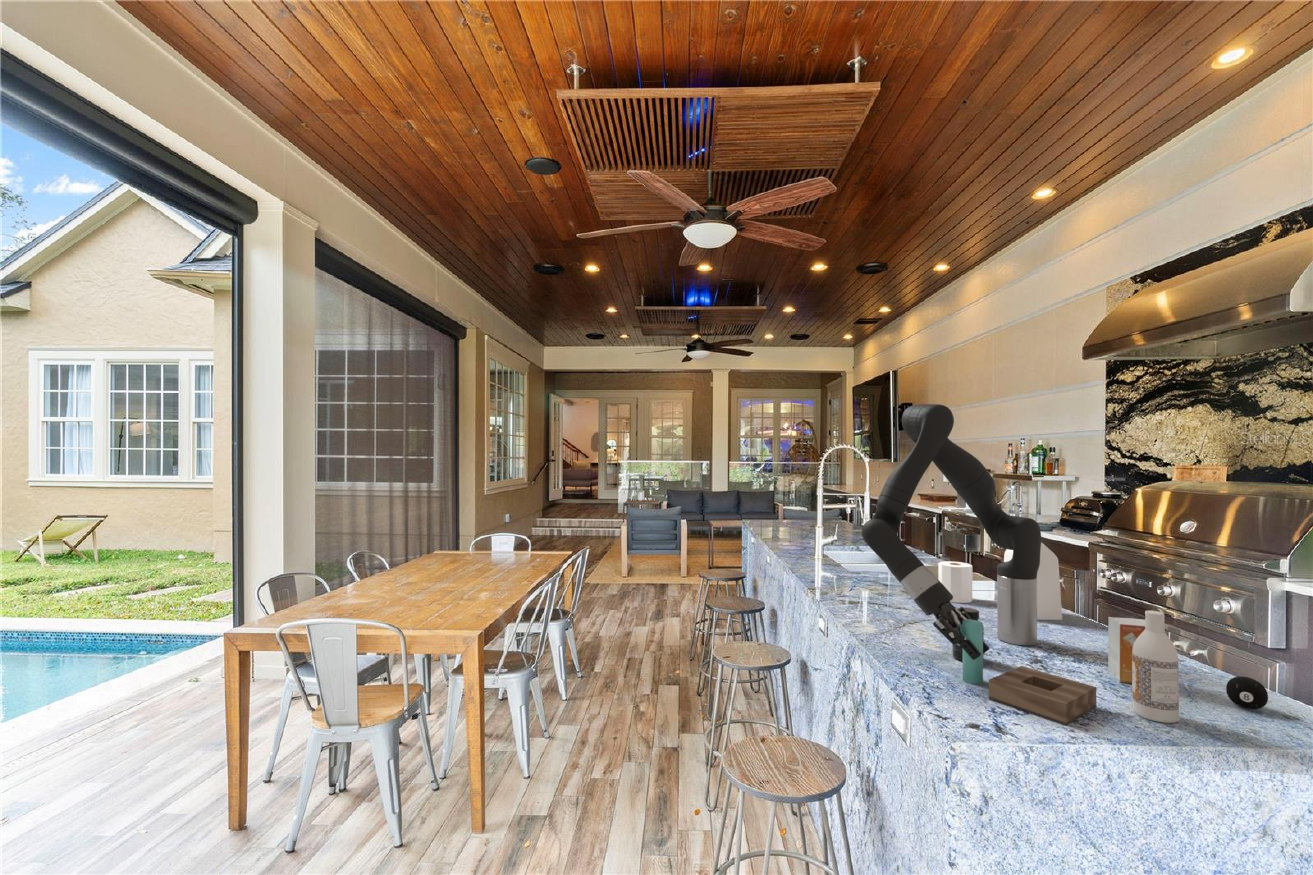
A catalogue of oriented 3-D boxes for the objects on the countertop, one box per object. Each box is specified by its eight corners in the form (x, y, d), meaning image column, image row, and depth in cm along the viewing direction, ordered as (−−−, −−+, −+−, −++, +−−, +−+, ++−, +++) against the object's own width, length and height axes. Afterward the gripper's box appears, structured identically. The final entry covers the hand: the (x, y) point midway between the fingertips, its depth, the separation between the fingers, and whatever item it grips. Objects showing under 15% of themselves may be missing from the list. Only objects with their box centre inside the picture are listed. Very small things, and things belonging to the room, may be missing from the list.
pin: (968, 676, 136) (968, 618, 136) (986, 681, 133) (986, 622, 133) (959, 680, 134) (958, 621, 134) (977, 685, 130) (976, 625, 131)
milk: (1062, 619, 181) (1061, 533, 181) (1023, 619, 181) (1023, 533, 182) (1037, 609, 193) (1037, 528, 193) (1001, 608, 193) (1001, 527, 194)
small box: (1119, 682, 132) (1119, 623, 133) (1107, 672, 138) (1107, 615, 139) (1164, 687, 130) (1163, 627, 130) (1149, 676, 136) (1149, 619, 136)
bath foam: (1133, 705, 121) (1132, 605, 121) (1178, 715, 116) (1177, 611, 117) (1131, 716, 116) (1131, 612, 116) (1179, 727, 111) (1178, 619, 111)
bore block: (1021, 684, 131) (1021, 665, 131) (1096, 707, 120) (1096, 687, 120) (989, 699, 123) (988, 679, 123) (1065, 725, 112) (1065, 703, 112)
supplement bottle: (987, 664, 143) (987, 614, 143) (956, 662, 144) (956, 612, 145) (978, 655, 150) (978, 606, 150) (949, 653, 151) (948, 605, 151)
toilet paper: (966, 596, 209) (966, 561, 209) (976, 604, 199) (976, 567, 199) (935, 595, 211) (935, 560, 211) (943, 602, 201) (943, 566, 201)
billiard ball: (1225, 707, 120) (1225, 677, 120) (1226, 698, 124) (1226, 669, 124) (1268, 717, 116) (1268, 686, 116) (1268, 708, 120) (1268, 677, 120)
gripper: (925, 585, 134) (984, 653, 125) (949, 576, 144) (1005, 638, 135) (901, 604, 137) (957, 671, 129) (926, 594, 147) (979, 655, 139)
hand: (981, 654), depth 132 cm, fingers open, 5 cm apart
